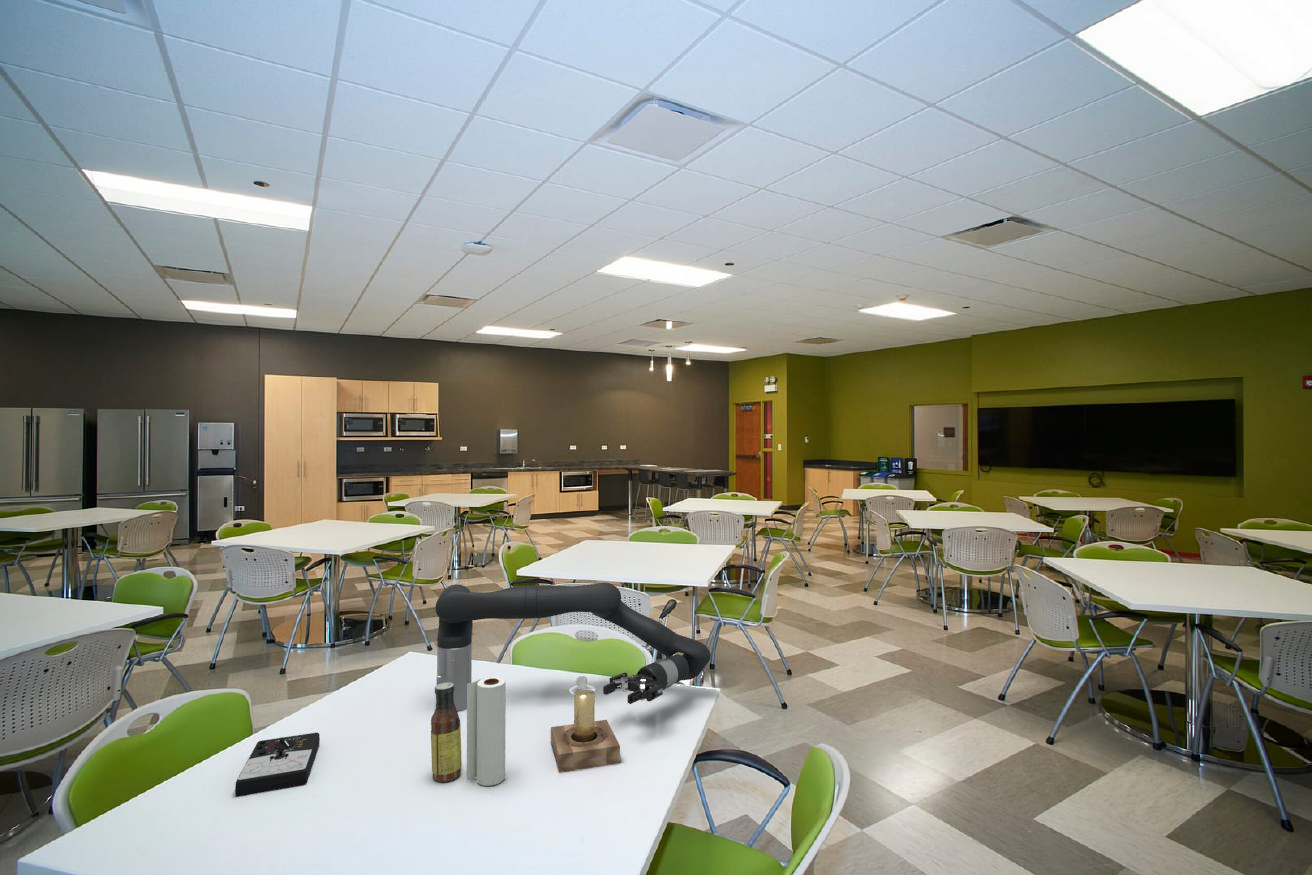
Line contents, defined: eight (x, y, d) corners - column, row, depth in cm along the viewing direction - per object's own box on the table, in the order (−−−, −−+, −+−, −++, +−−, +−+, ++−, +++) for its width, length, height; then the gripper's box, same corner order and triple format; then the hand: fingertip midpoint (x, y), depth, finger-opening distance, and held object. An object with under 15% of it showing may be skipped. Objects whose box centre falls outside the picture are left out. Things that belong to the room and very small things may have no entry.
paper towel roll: (511, 775, 136) (511, 678, 136) (492, 789, 130) (493, 688, 130) (485, 768, 139) (485, 673, 139) (466, 781, 133) (466, 682, 133)
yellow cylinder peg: (575, 758, 143) (576, 698, 143) (572, 749, 147) (572, 690, 148) (596, 755, 144) (596, 696, 144) (592, 746, 149) (592, 688, 149)
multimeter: (319, 746, 150) (320, 725, 150) (306, 786, 132) (306, 763, 132) (257, 755, 145) (257, 734, 145) (234, 799, 127) (234, 775, 127)
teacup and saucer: (593, 698, 178) (593, 684, 178) (566, 698, 178) (566, 684, 178) (597, 686, 187) (597, 673, 187) (571, 686, 187) (571, 672, 187)
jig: (558, 772, 137) (558, 754, 137) (550, 743, 150) (550, 726, 150) (619, 762, 141) (619, 745, 141) (606, 735, 154) (606, 719, 154)
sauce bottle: (467, 771, 137) (467, 682, 138) (449, 785, 132) (449, 692, 132) (443, 766, 140) (443, 678, 140) (424, 780, 134) (424, 688, 134)
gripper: (638, 656, 171) (596, 673, 158) (678, 668, 162) (637, 687, 149) (638, 683, 171) (596, 702, 158) (678, 697, 161) (637, 718, 149)
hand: (616, 695), depth 154 cm, fingers open, 8 cm apart
